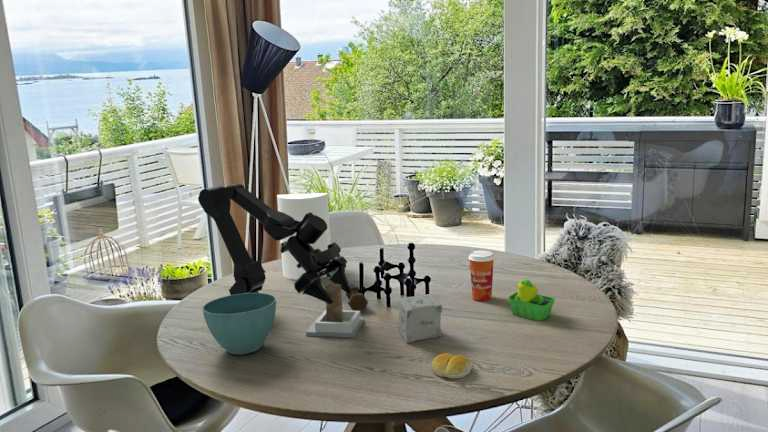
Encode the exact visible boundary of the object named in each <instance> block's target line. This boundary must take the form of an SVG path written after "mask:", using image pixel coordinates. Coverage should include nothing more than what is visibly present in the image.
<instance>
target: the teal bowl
mask: <svg viewBox="0 0 768 432" xmlns="http://www.w3.org/2000/svg"><path fill="white" fill-rule="evenodd" d="M276 299H277V298H276V296H274V295H273V294H271V293H266V292H265V293H264V292H259V293H243V294H235V295H226V296H222V297H219V298H215V299H212V300H210V301H208V302H206V303H205V304H204V305H202V315H203V317H204V320H205V324H206V326H207V328H208V330H209V332H210V333H211V335H212V337H213V338H214V340H215V341H216V342H217V343H218V344H219V346H220V347H222V349H224V350H225V351H226V352H227V353H229V354H231V355H246V354H250V353H254V352H257V351H259V350H260V349H261V347H262V346H263V345H264V344H265V342H266V340H267V339H268V338H269V337H268V336H269V335H270V334H271V331H272V327H273V326H274V323H275V322H274V321H275V318H276V316H275V315H276V311H277V309H276V308H277V301H276Z"/></svg>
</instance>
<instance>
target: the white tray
mask: <svg viewBox="0 0 768 432" xmlns="http://www.w3.org/2000/svg"><path fill="white" fill-rule="evenodd" d="M364 321H365V318H364V316H363V317H361V311H353V310H347V309H346V310H344V309H343V322H327V314H326V309H324V311H323V312H322V313H321V314H320V315H319V316H318V317H317V318H316V319H315V320H314V321H313V323H312V324H311V325H310V326H309V327H308V329H307V330H306V332H305V336H309V337H311V336H312V337H334V338H335V337H337V338H354V337H355V336H356V334H357V332H358V331H359V329H360V327H361V326H362V324H363V323H364Z"/></svg>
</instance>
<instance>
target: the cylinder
mask: <svg viewBox="0 0 768 432" xmlns="http://www.w3.org/2000/svg"><path fill="white" fill-rule="evenodd" d="M276 201H277V202H276V203H277V211H279V212H283V213H285V214H287V215H289V216H291V217H292V218H293V219H294V220H297V221H302V220H303V218H304V216H305V215H306V214H307V213H310V212H311V213H312V214H313V215H316V216H318V217H320V218H321V219H323V220H324V221H325V222H326V224H327V230H326V231H325V232H324V233H323V234H322V235H321V237H320V238H319V239H318V240H317V241H316V242H315V243H314V244H310V245H311V246H312V247H313V248H314V250H315V249H320V250H321V251H324V250H327V249H328V245H329V244H332V243H331V241H332V240H331V225H330V209H329V206H330V205H329V193H328V192H321V193H319V192H318V193H297V194H296V193H292V194H276ZM296 234H297V233H295V234H294V235H292V236H295V235H296ZM290 237H291V236H290ZM290 237H287V238H285V239H282V240H279V241H280V244H281V243H283V242H285V241H287V240H288V239H289V238H290ZM280 253H281V252H280ZM331 261H332V260H331ZM281 265H282V266H281V267H282V276H283V277H284V278H285V279H289V280H294V281H297V280H298V279H299V278H300V277H301V275H302V274H304V273H306V272H305V270H304V269H303V268H302V267H301V268H298V267H297V265H298V262H297V261H296V260H295V258H294V257H293V256H292V255H291V254H290V252H289V251H286V252H284V253H281ZM325 277H327V276H326V275H325V276H323V277H321V279H322V278H325Z"/></svg>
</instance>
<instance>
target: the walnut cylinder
mask: <svg viewBox="0 0 768 432" xmlns="http://www.w3.org/2000/svg"><path fill="white" fill-rule="evenodd" d="M324 289H325V290H326V292H327V293H328V294H329V296H330V297H331V299H332V300H333V303H332V304H328V303H326V302H325V310H326V314H327V322H343V310H344V309H343V295H342V294H343V292H342V291H343V290H342V289H341V285H340V284H335V283H329V284H325V285H324Z"/></svg>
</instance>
